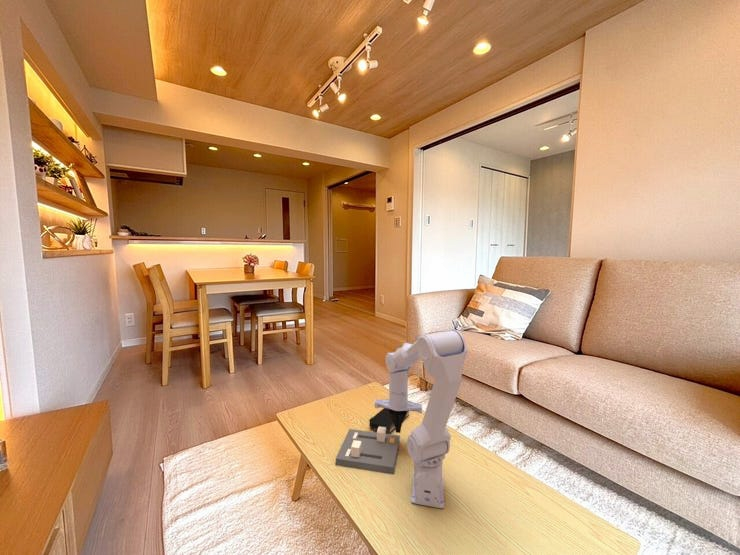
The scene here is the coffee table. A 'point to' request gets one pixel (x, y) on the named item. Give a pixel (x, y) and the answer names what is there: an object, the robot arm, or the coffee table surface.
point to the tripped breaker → (381, 434)
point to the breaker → (356, 448)
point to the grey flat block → (369, 451)
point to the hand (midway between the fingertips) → (398, 430)
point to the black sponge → (383, 420)
